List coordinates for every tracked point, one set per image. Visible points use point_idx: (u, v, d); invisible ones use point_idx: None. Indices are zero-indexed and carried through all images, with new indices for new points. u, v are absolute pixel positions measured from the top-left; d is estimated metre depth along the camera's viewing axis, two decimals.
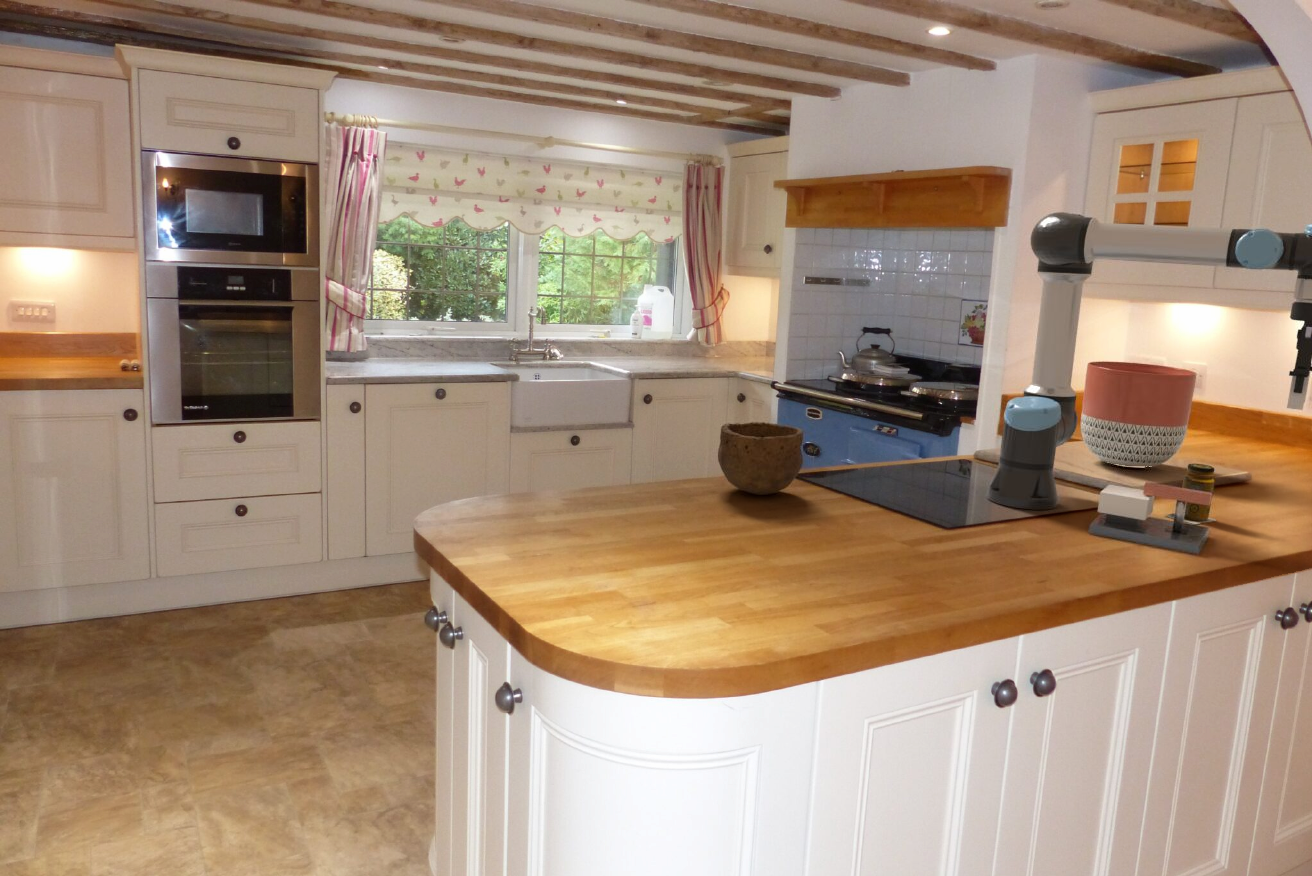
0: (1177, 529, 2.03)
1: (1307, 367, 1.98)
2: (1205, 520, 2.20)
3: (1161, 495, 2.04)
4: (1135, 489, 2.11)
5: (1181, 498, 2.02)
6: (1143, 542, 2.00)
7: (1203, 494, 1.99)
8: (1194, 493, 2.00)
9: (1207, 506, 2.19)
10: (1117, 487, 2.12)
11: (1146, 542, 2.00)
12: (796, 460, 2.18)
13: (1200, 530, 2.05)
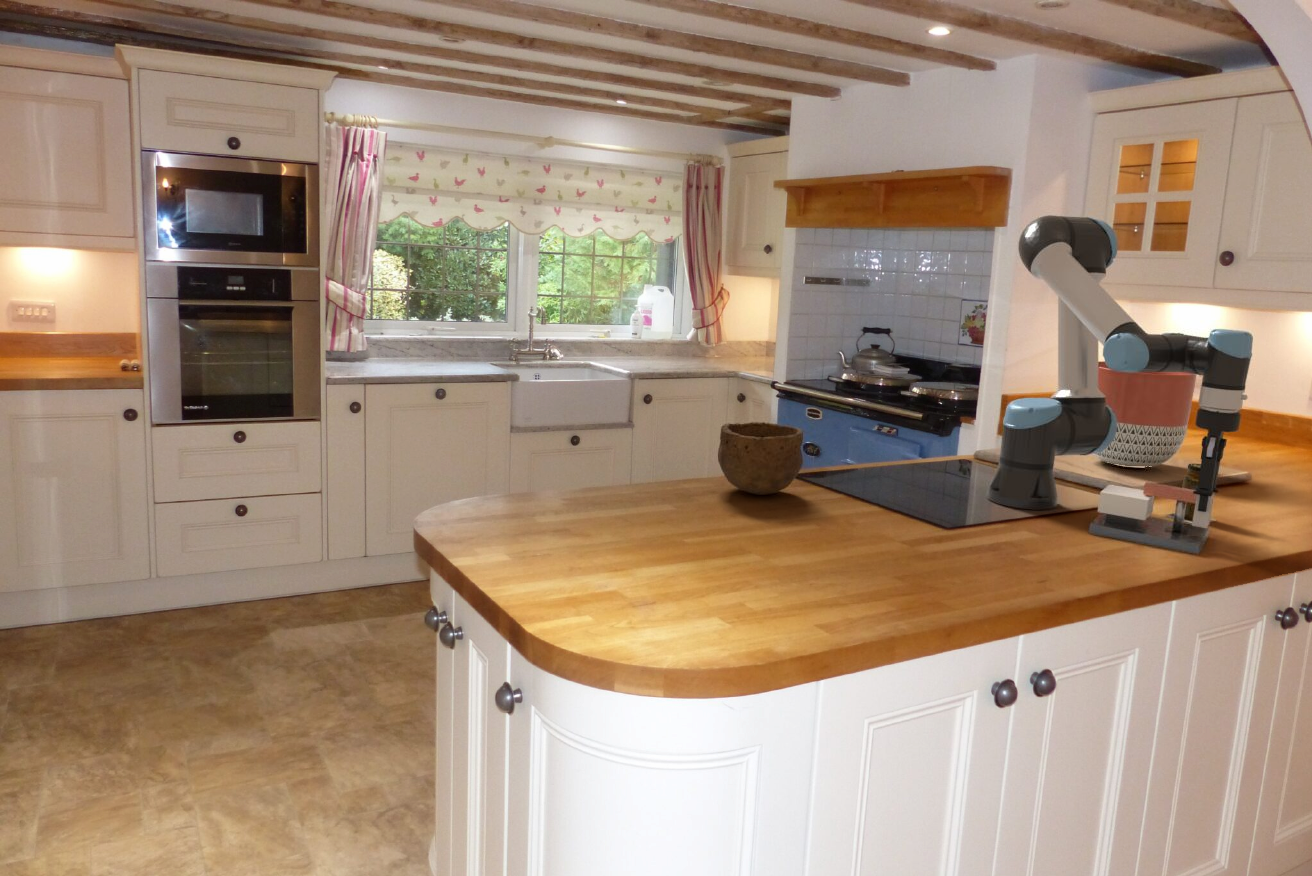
0: (1177, 529, 2.03)
1: (1209, 489, 1.95)
2: None
3: (1161, 495, 2.04)
4: (1135, 489, 2.11)
5: (1181, 498, 2.02)
6: (1143, 542, 2.00)
7: None
8: None
9: None
10: (1117, 487, 2.12)
11: (1146, 542, 2.00)
12: (796, 460, 2.18)
13: (1200, 530, 2.05)
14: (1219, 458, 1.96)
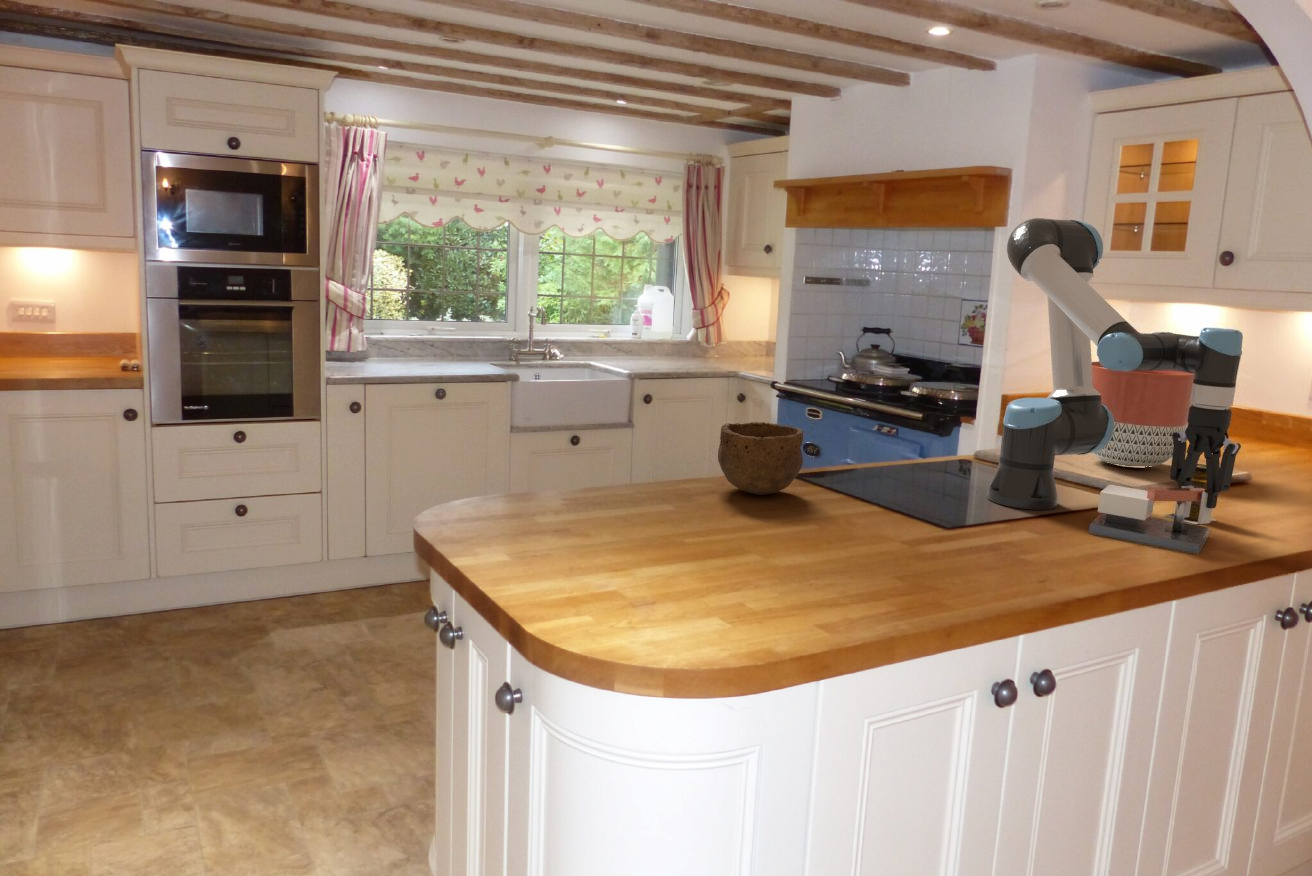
0: (1180, 529, 2.03)
1: (1229, 485, 1.98)
2: None
3: (1169, 499, 2.01)
4: (1135, 489, 2.11)
5: (1185, 498, 2.01)
6: (1143, 542, 2.00)
7: None
8: (1196, 492, 2.02)
9: None
10: (1117, 487, 2.12)
11: (1146, 542, 2.00)
12: (796, 460, 2.18)
13: (1200, 530, 2.05)
14: (1220, 453, 2.00)
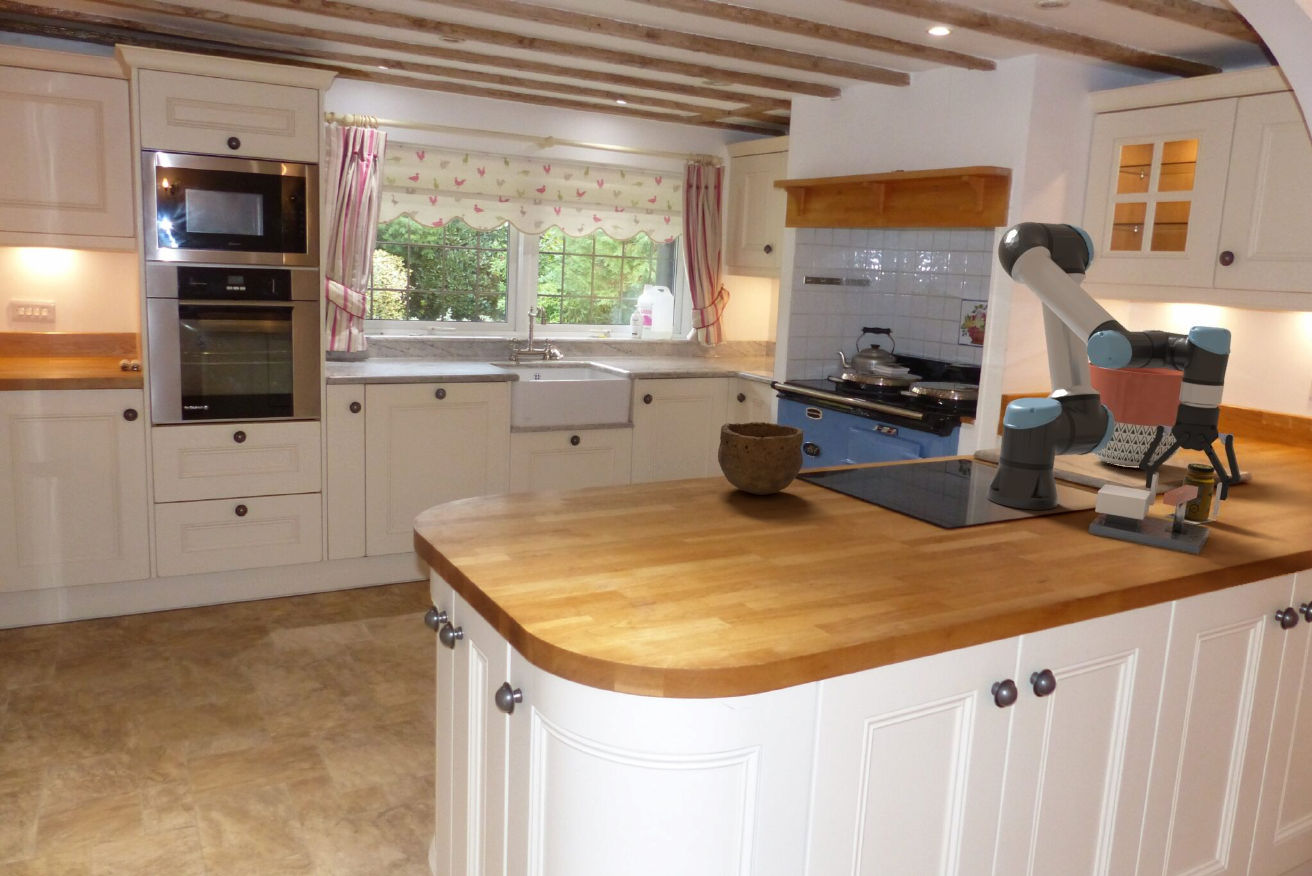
0: None
1: (1239, 475, 2.01)
2: (1205, 520, 2.20)
3: (1181, 501, 1.99)
4: (1131, 488, 2.11)
5: (1188, 498, 2.02)
6: (1143, 542, 2.00)
7: (1195, 488, 2.04)
8: (1193, 490, 2.03)
9: (1207, 506, 2.19)
10: (1113, 487, 2.12)
11: (1146, 542, 2.00)
12: (796, 460, 2.18)
13: (1200, 530, 2.05)
14: (1212, 447, 2.03)
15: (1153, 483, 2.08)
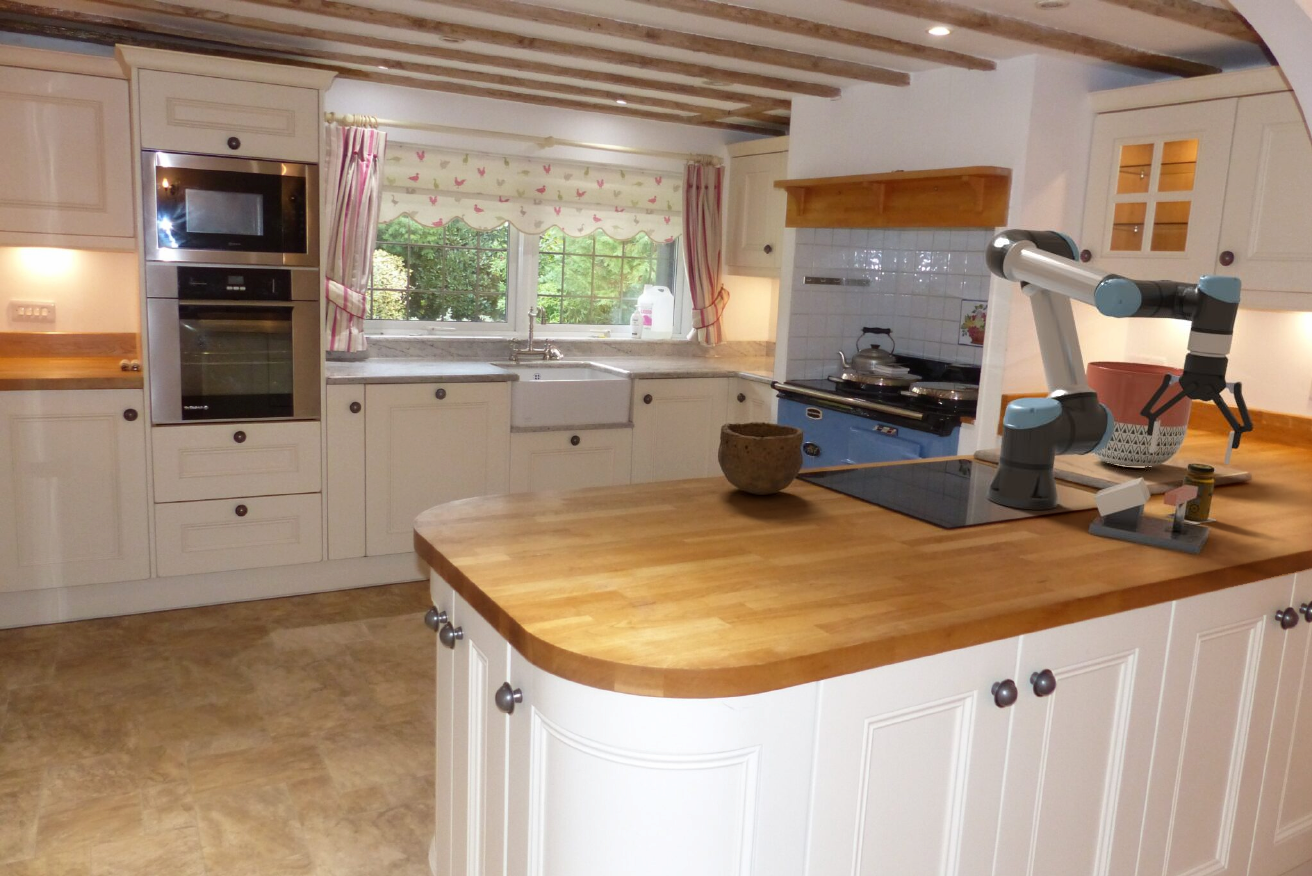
0: None
1: None
2: (1205, 520, 2.20)
3: (1181, 501, 1.99)
4: (1124, 483, 2.12)
5: (1188, 498, 2.02)
6: (1143, 542, 2.00)
7: (1195, 488, 2.04)
8: (1192, 490, 2.03)
9: (1207, 506, 2.19)
10: (1107, 488, 2.13)
11: (1146, 542, 2.00)
12: (796, 460, 2.18)
13: (1200, 530, 2.05)
14: None
15: (1155, 430, 2.06)
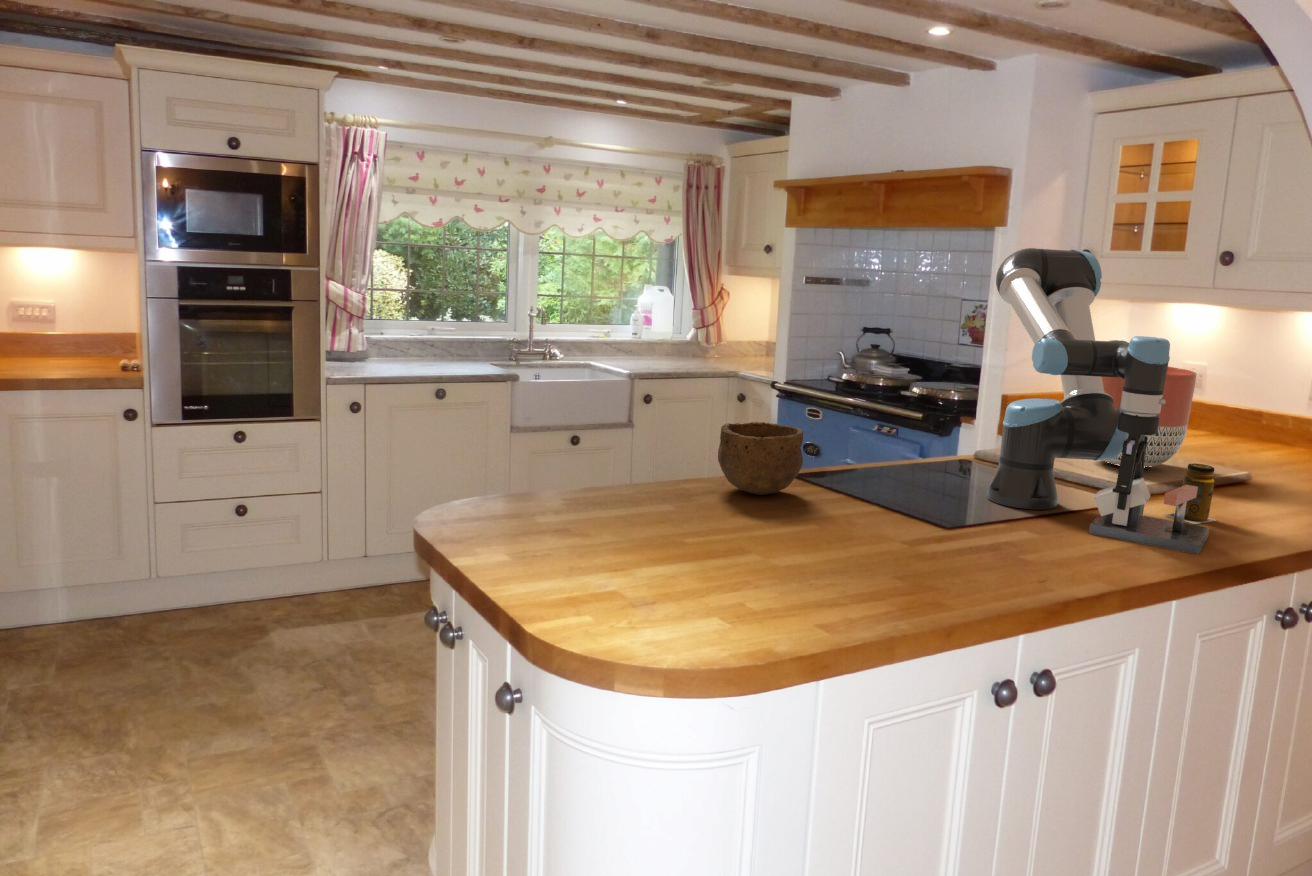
0: None
1: (1127, 486, 2.00)
2: (1205, 520, 2.20)
3: (1181, 501, 1.99)
4: None
5: (1188, 498, 2.02)
6: (1143, 542, 2.00)
7: (1195, 488, 2.04)
8: (1192, 490, 2.03)
9: (1207, 506, 2.19)
10: (1107, 488, 2.13)
11: (1146, 542, 2.00)
12: (796, 460, 2.18)
13: (1200, 530, 2.05)
14: (1138, 458, 2.03)
15: None
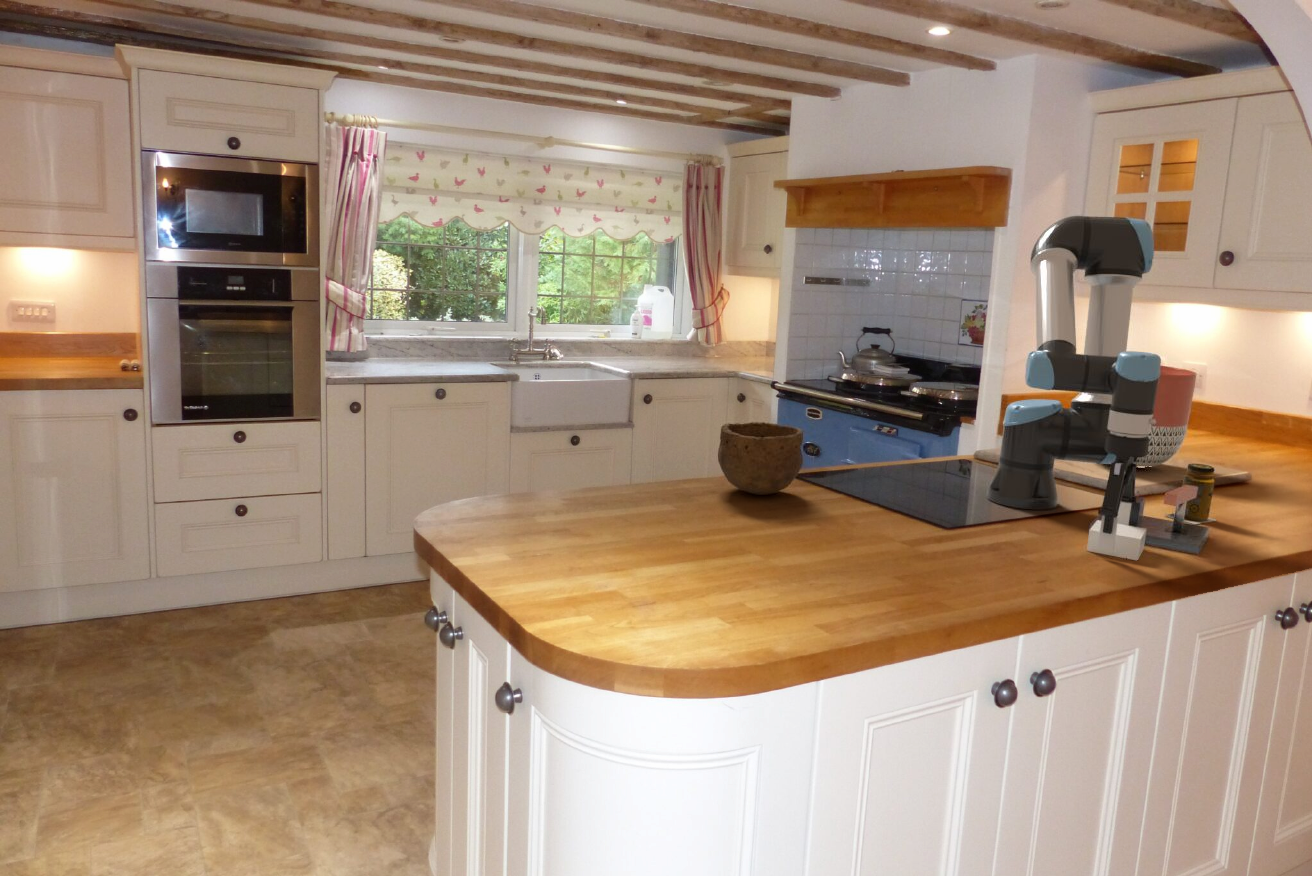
0: None
1: (1114, 508, 1.85)
2: (1205, 520, 2.20)
3: (1181, 501, 1.99)
4: (1125, 525, 1.97)
5: (1188, 498, 2.02)
6: None
7: (1195, 488, 2.04)
8: (1192, 490, 2.03)
9: (1207, 506, 2.19)
10: None
11: (1146, 542, 2.00)
12: (796, 460, 2.18)
13: (1200, 530, 2.05)
14: (1127, 480, 1.89)
15: None
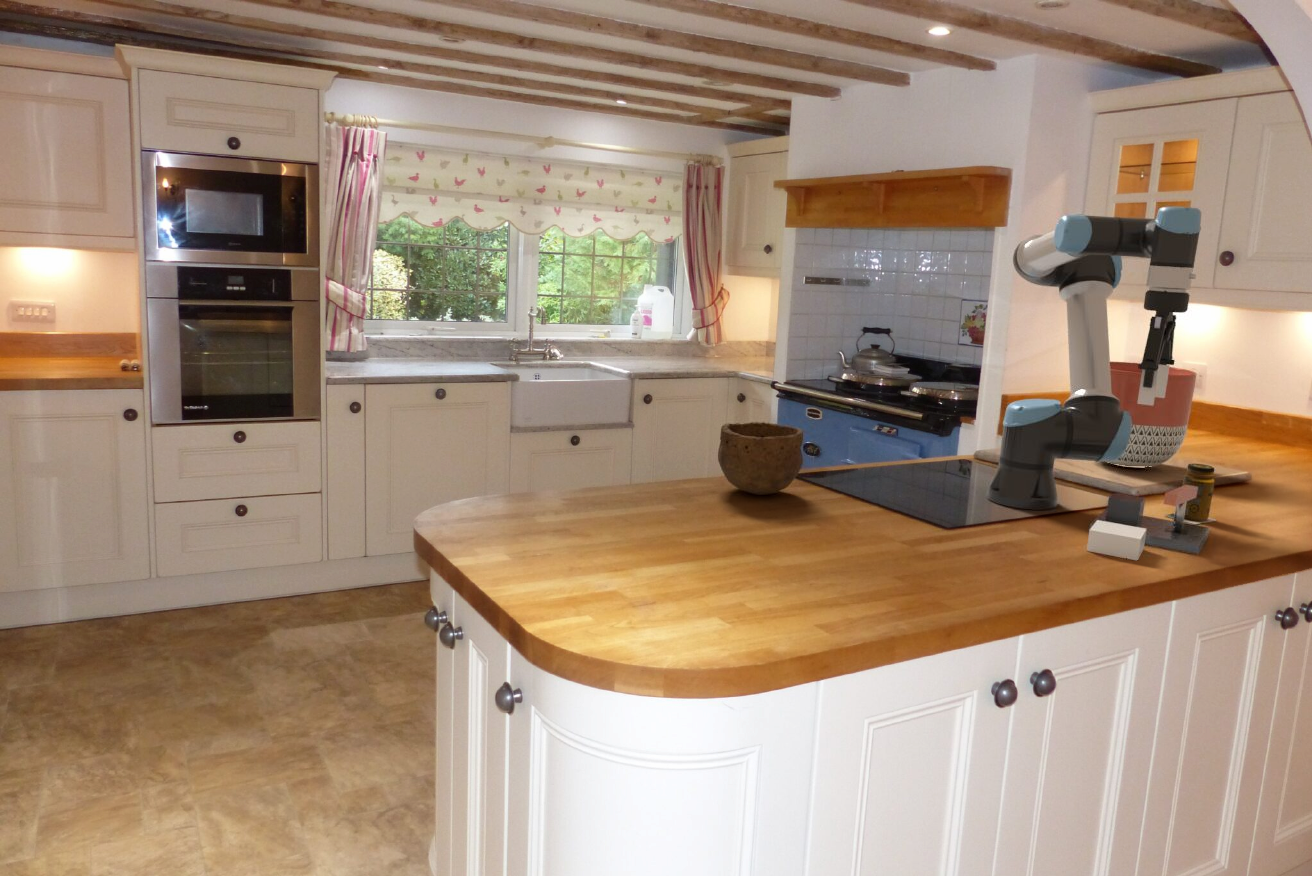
0: None
1: (1155, 360, 1.85)
2: (1205, 520, 2.20)
3: (1181, 501, 1.99)
4: (1125, 525, 1.97)
5: (1188, 498, 2.02)
6: None
7: (1195, 488, 2.04)
8: (1192, 490, 2.03)
9: (1207, 506, 2.19)
10: (1106, 523, 1.98)
11: (1146, 542, 2.00)
12: (796, 460, 2.18)
13: (1200, 530, 2.05)
14: (1167, 335, 1.89)
15: None
